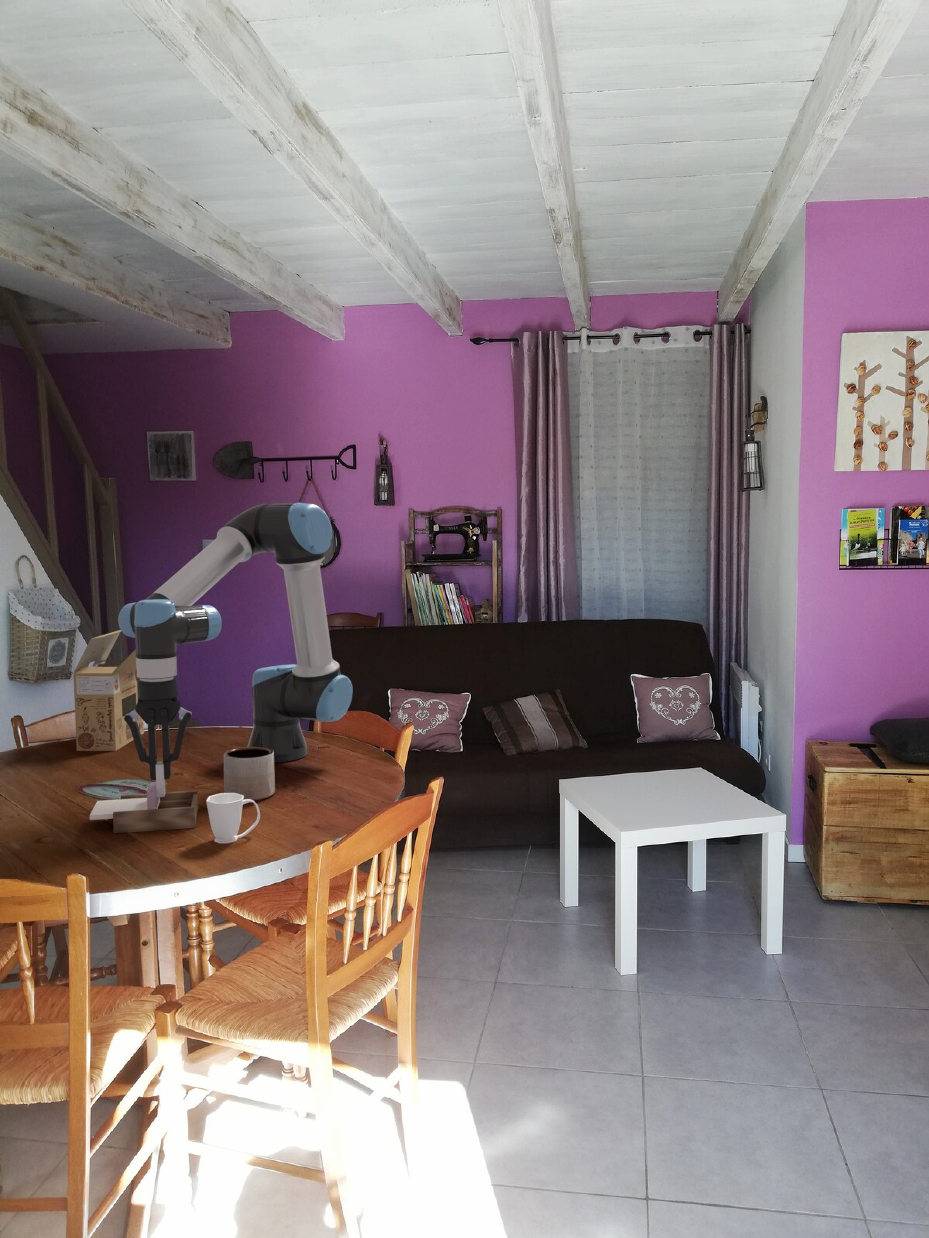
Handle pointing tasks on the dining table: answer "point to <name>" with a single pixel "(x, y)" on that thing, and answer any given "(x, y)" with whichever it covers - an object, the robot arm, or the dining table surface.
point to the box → (104, 697)
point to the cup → (227, 816)
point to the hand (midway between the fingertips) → (161, 794)
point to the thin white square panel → (126, 804)
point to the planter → (249, 772)
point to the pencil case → (159, 813)
